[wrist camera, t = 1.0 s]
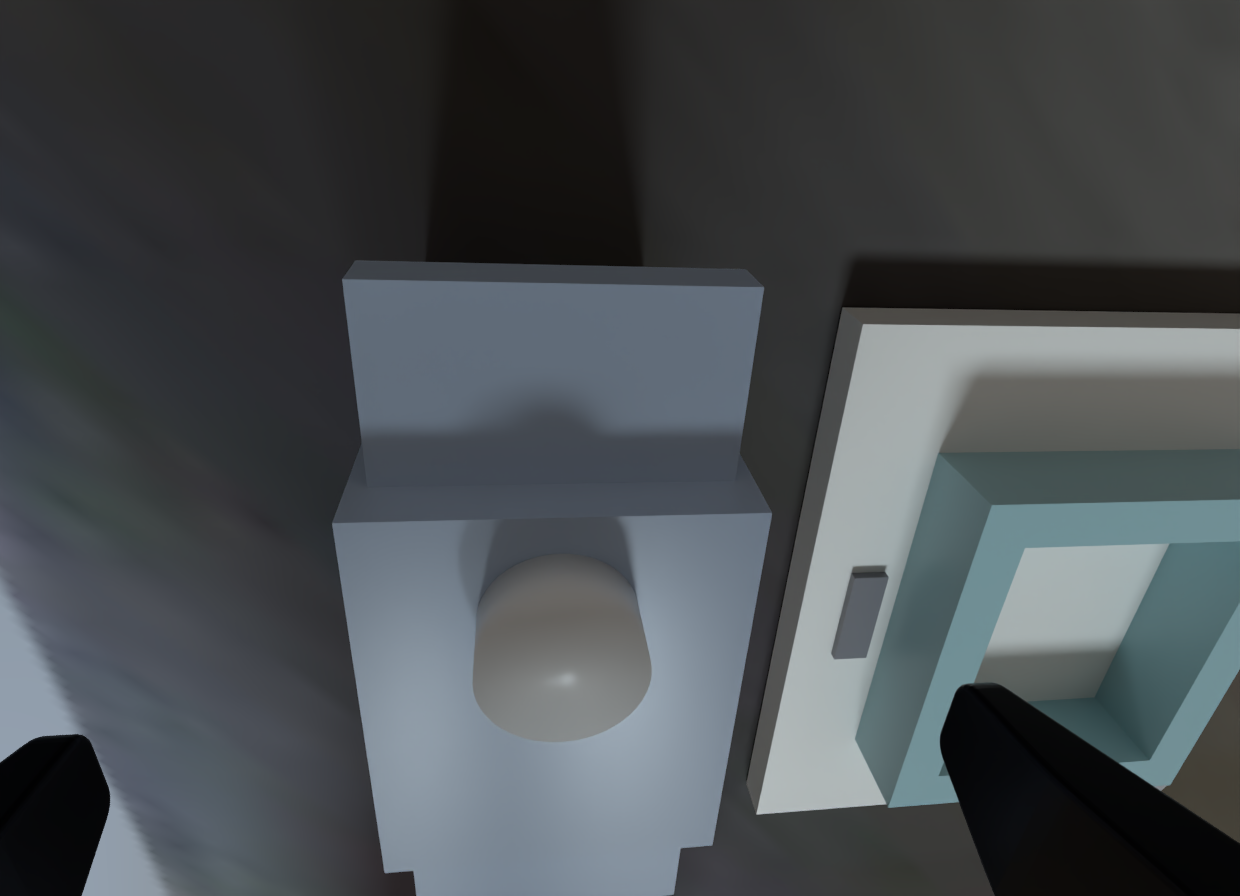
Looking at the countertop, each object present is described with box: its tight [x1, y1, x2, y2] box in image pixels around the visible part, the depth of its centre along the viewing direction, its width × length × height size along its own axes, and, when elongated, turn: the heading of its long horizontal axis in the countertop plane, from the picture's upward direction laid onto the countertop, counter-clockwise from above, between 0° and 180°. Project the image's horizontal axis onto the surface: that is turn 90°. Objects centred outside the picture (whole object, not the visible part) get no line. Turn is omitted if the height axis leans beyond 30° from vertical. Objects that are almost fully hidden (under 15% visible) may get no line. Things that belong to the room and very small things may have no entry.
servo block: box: [332, 260, 772, 896], centre depth 11 cm, size 9×4×9 cm, turn 177°
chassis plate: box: [747, 307, 1240, 814], centre depth 18 cm, size 14×12×3 cm
